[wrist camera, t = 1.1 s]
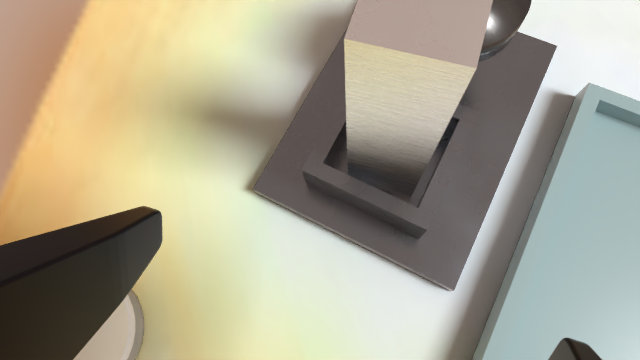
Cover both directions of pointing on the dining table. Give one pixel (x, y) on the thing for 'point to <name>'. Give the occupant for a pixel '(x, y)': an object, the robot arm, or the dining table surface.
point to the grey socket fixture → (441, 172)
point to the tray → (578, 243)
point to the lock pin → (406, 83)
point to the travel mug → (118, 334)
